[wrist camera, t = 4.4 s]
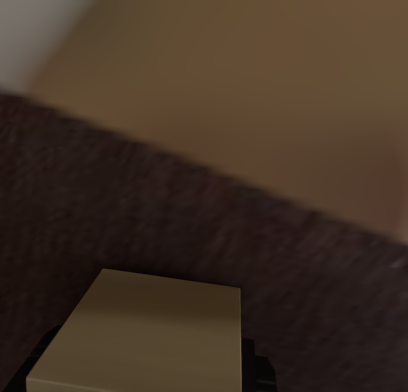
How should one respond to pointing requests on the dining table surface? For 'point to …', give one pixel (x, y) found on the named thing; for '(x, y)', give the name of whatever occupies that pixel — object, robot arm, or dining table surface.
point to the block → (145, 338)
